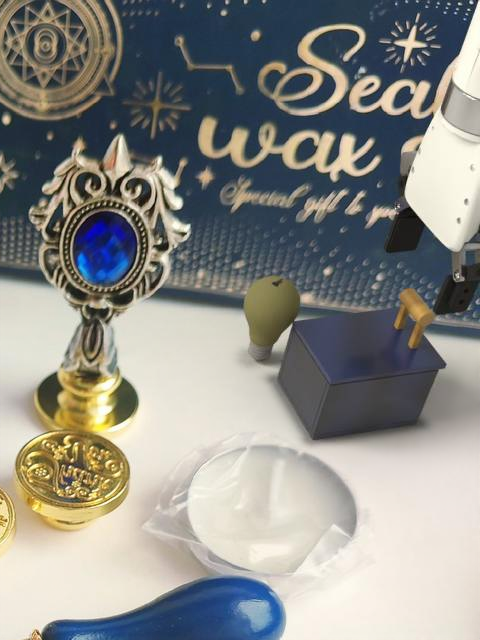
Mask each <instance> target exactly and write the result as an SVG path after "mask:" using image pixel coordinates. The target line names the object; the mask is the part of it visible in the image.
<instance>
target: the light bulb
mask: <svg viewBox="0 0 480 640" xmlns="http://www.w3.org/2000/svg"><path fill="white" fill-rule="evenodd" d="M300 309H301V296H300V292H299V290H298V288H297V287H296V286H295V284H294V283H293V282H292V281H291V280H289V279H287V278H285V277H283V276H278V275H269V276H264V277H262V278H260V279H258V280H256V281H255V282H254V283H253V284H252V285H251V286H250V287H249V288H248V290H247V292H246V294H245V296H244V299H243V313H244V317H245V320H246V322H247V326H248V333H249V334H248V336H249V344H248V349H247V354H248V356H250V358H252V359H254V360H255V361H257V362H259V361H265V360H268V359H269V358H270V357H271V355H272V352H273V351H272V350H273V348H274V345H275V344H277V342H278V341H279V339H280V338H281V335H282V334H283V333H284V332H285V331H286V330H287V329H288V328H290V326H292V323H293V321H296V320H297V317H298V316H299V313H300Z"/></svg>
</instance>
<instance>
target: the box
mask: <svg viewBox="0 0 480 640" xmlns="http://www.w3.org/2000/svg"><path fill="white" fill-rule="evenodd" d="M286 341H287V342H286V344H285V346H286V347H285V348H284V353H283V356H282V360H281V363H280V366H279V370H278V373H277V377H276V382H277V383H278V385H279V386H280V389H281V390H282V391H283V393H284V395H285V396H286V398H287V400H288V401H289V403H290V405H291V407H292V408H293V409H294V411H295V413H296V415H297V416H298V418H299V419H300V421H301V423H302V425H303V427H304V428H305V430H306V431H307V433H308V435H309V436H310V438H311V440H318V439H326V438H327V439H328V438H333V437H339V436H346V435H354V434H359V433H364V432H365V433H366V432H367V433H368V432H374V431H380V430H387V429H393V428H400V427H406V426H413V425H417V423H418V422H419V419H420V418H421V417H420V416H421V414H422V412H423V410H424V407H425V405H426V402H427V400H428V397H429V395H430V393H431V391H432V388H433V386H434V383H435V381H436V378H437V376H438V374H439V371H440V369H439V370H432V371H425V372H418V373H411V374H404V375H397V376H390V377H383V378H376V379H369V380H362V381H355V382H347V383H340V384H333V385H330V383H329V382H328V380H327V379H326V377H325V376H324V374H323V373H322V371H321V370H320V368H319V367H318V365H317V364H316V362H315V360H314V359H313V357H312V356H311V354H310V353H309V351H308V350H307V348H306V347H305V345H304V344H303V342H302V340H301V339H300V337H299V336H298V334H297V333H296V331H295V330H294V328H293V327H292V326H291V327H290V330H289V335H288V338H287V340H286Z"/></svg>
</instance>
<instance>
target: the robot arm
mask: <svg viewBox="0 0 480 640" xmlns="http://www.w3.org/2000/svg"><path fill="white" fill-rule="evenodd" d="M452 71H453V72H452V75H451V76H450V80H449V81H448V82H449V83H448V85H447V88H446V91H445V94H444V96H443V100H442V101H441V104H440V105H439V107H438V108H437V110H436V112H435V114H434V116H433V118H432V119H431V121H430V124H429V126H428V127H427V129H426V132H425V134H424V136H423V138H422V141H420V145H419V147H418V149H417V150H410V151H409V150H408V151H403V152H402V153H401V155H400V164H399V165H400V167H399V174H400V175H399V176H398V178H397V181H396V185H397V194H398V198H397V199H396V200H395V201H394V205H393V207H394V208H393V209H394V211H395V212H396V213H395V214H394V216H393V220H392V223H391V226H390V228H389V231H388V234H387V236H386V240H385V243H384V246H383V250H384V251H385V253H387V254H394V253H395V254H396V253H404V252H412V251H415V250H417V249H418V246H419V243H420V240H421V238H422V236H423V233H424V230H425V227H427V229H429V231H430V232H432V234H433V235H434V236H435V237H436V238H437V239H438V240H439V241H440V242H441V244H442V245H443V246H444V247H446V248H447V249H448V250H449V251H450V252H451V253H450V254H451V269H452V271H451V272H452V274H448V275H446V276H445V278H444V280H443V282H442V285H441V287H440V289H439V292H438V295H437V296H436V298H435V299H436V300H435V301H434V304H433V307H432V312H433V313H434V315H436V316H441V315H442V316H443V315H451V314H458V313H465V312H466V311H468V309H469V307H470V305H471V303H472V301H473V298H474V296H475V294H476V291H477V289H478V287H479V285H480V0H478V1H477V4H476V7H475V11H474V13H473V16H472V19H471V21H470V24H469V27H468V29H467V33H466V36H465V38H464V41H463V44H462V46H461V50H460V51H459V55H458V58H457V61H456V63H455V66H454V69H453V70H452ZM474 236H475V237H474ZM473 237H474V239H475V242H469V241H471V240H472V238H473ZM468 251H469V252H470V251H474V263H473V264H470V265H467V260H466V259H467V258H466V252H468Z"/></svg>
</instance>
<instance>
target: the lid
mask: <svg viewBox="0 0 480 640" xmlns="http://www.w3.org/2000/svg"><path fill="white" fill-rule="evenodd" d="M398 299H399V301H400V302H401V305H400V306H397V307H390V308H381V309H374V310H367V311H359V312H351V313H344V314H343V313H342V314H337V315H336V314H335V315H329V316H322V317H315V318H307V319H299V320H294V321H293V323H292V324H291V327H293V328H294V330H295V331H296V333H297V334H298V336H299V337H300V339H301V340H302V342H303V344H304V345H305V347H306V348H307V350H308V351H309V353H310V354H311V356H312V357H313V359H314V360H315V362H316V364H317V365H318V367H319V368H320V370H321V371H322V373H323V374H324V376H325V377H326V379H327V380H328V382H329V383H330V385H333V384H340V383H347V382H355V381H362V380H369V379H376V378H383V377H390V376H397V375H404V374H411V373H418V372H425V371H432V370H439V371H440V370H445V369H446V367H447V365H448V364H447V362H446V361H445V359H444V358H443V357H442V356H441V354H440V353H439V352H438V351H437V349H436V348H435V347H434V345H433V344H432V343H431V342H430V340H429V339H428V338H427V337H426V335H425V334H424V333H425V330H426V328H427V327H428V326H429V325H431V324H432V323H433V322H434V321H435V319H436V316H435V315H436V314H435V313H434V311H433V310H432V309H431V308H430V307H429V306H428V304H427V303H426V301H424V299H422V297H421V296H420V294H419V293H418V292H417V291H416V290H415V289H414V288H412V287H410V288H409V287H408V288H406V289H404V290H402V291H401V293H400V294H399V296H398ZM410 315H411V316H410ZM413 319H414V320H413Z"/></svg>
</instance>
